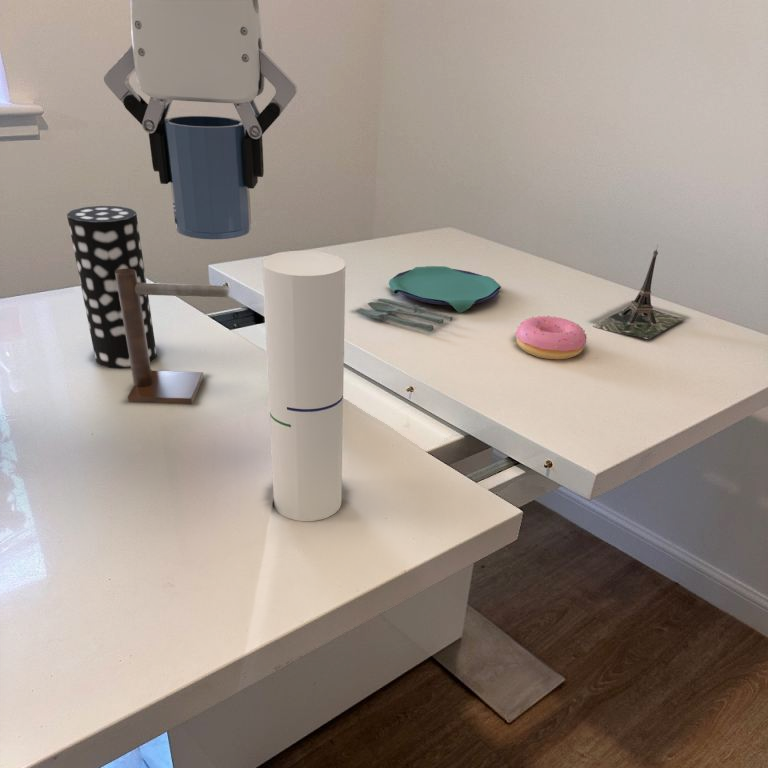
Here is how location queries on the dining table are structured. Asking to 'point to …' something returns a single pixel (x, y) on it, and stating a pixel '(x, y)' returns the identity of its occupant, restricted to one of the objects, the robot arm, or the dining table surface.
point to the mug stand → (146, 381)
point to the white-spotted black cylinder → (108, 277)
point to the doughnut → (551, 337)
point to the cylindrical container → (305, 380)
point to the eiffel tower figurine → (640, 314)
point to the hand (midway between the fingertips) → (210, 181)
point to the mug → (208, 176)
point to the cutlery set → (434, 293)
